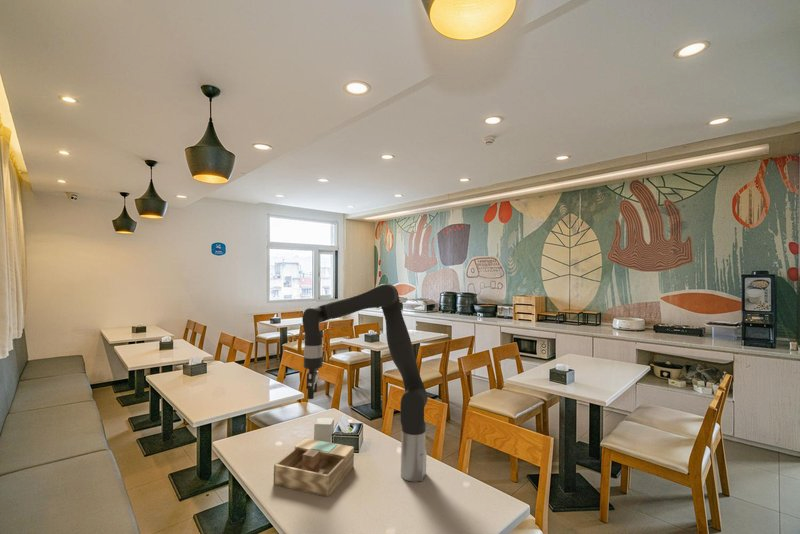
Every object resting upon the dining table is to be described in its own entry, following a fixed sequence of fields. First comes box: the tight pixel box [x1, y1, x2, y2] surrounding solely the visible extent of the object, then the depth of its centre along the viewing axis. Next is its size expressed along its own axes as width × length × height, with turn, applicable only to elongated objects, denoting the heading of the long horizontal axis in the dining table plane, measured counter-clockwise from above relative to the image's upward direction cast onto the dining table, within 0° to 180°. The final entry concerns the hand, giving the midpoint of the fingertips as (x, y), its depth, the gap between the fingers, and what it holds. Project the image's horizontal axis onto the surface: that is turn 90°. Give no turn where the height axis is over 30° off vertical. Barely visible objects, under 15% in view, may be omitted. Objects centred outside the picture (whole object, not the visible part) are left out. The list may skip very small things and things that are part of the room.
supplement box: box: [313, 417, 335, 443], centre depth 156 cm, size 7×7×13 cm
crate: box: [273, 438, 355, 498], centre depth 137 cm, size 22×21×8 cm
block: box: [302, 449, 320, 473], centre depth 133 cm, size 4×4×8 cm
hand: (312, 395), depth 147 cm, fingers open, 8 cm apart
